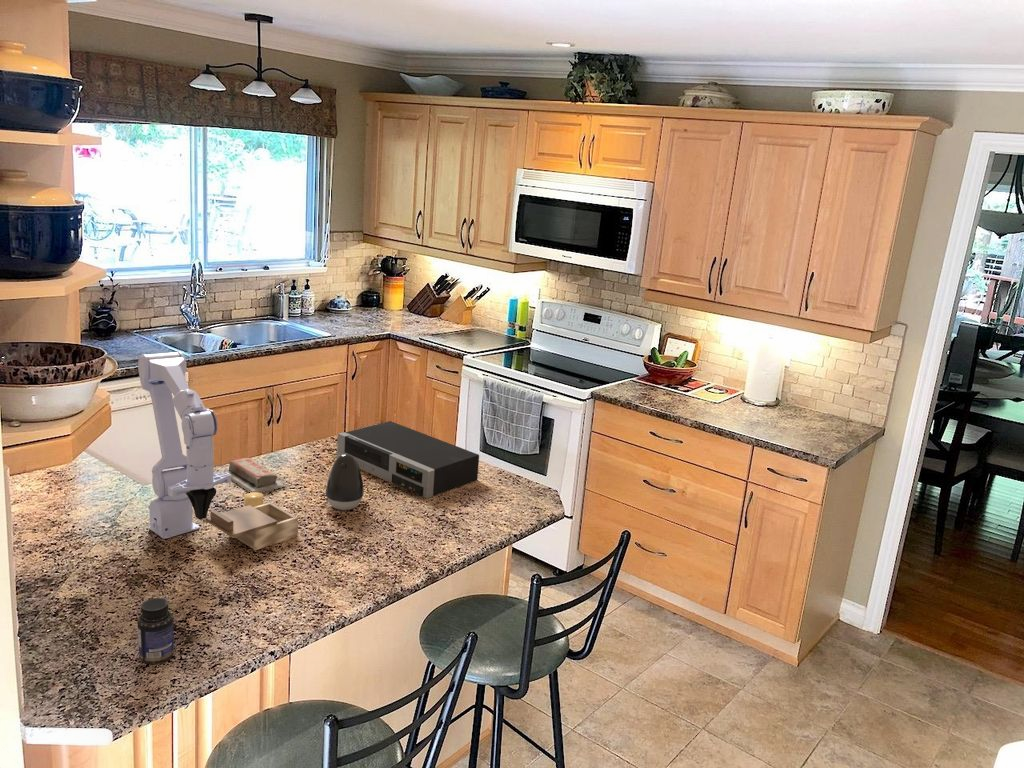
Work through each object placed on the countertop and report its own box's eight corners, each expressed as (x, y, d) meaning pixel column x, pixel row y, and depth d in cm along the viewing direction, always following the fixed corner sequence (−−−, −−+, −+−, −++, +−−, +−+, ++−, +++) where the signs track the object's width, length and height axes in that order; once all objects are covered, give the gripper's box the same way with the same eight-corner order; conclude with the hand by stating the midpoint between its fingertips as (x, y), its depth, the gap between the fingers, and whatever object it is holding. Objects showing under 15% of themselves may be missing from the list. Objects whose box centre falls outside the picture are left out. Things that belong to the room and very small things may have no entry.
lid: (232, 538, 194) (232, 525, 193) (205, 520, 201) (205, 508, 200) (277, 524, 203) (277, 511, 202) (249, 507, 210) (249, 496, 209)
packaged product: (222, 460, 241) (253, 453, 248) (222, 476, 242) (253, 469, 249) (252, 480, 229) (285, 473, 236) (252, 496, 230) (284, 488, 237)
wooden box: (255, 550, 200) (255, 531, 198) (228, 532, 207) (228, 514, 206) (297, 536, 209) (297, 517, 207) (270, 519, 216) (270, 502, 215)
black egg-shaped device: (321, 513, 223) (323, 460, 218) (328, 497, 233) (330, 446, 228) (360, 515, 223) (362, 462, 219) (365, 500, 233) (367, 449, 229)
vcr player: (477, 481, 254) (479, 454, 252) (418, 502, 235) (420, 473, 233) (388, 445, 278) (389, 420, 276) (328, 462, 259) (329, 435, 257)
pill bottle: (181, 651, 159) (180, 600, 156) (158, 669, 153) (156, 616, 150) (155, 643, 161) (153, 592, 158) (131, 660, 155) (129, 607, 152)
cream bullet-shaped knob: (250, 519, 216) (250, 501, 214) (240, 512, 219) (240, 495, 217) (267, 514, 219) (267, 496, 218) (256, 508, 222) (256, 490, 221)
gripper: (178, 475, 182) (180, 532, 185) (238, 461, 192) (238, 515, 196) (162, 465, 186) (164, 521, 190) (221, 452, 197) (222, 505, 200)
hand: (200, 517), depth 193 cm, fingers closed
